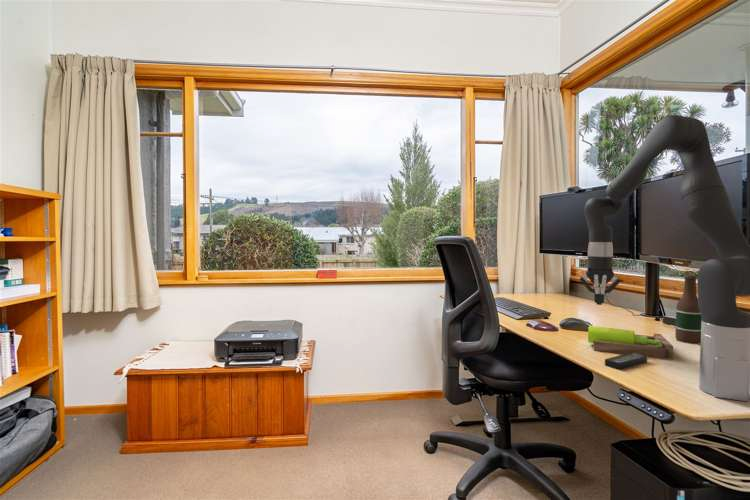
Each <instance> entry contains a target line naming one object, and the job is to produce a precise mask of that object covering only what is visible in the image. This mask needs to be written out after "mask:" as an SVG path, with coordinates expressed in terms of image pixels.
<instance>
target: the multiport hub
mask: <svg viewBox="0 0 750 500" xmlns="http://www.w3.org/2000/svg"><path fill="white" fill-rule="evenodd" d="M646 363H648V356H645V355H642V354H638V353H634V352H632V353H628V354H620V355H616V356H612V357H607V358H605V359H604V366H605V367H608V368H612V369H614V370H618V371H621V370H624V369H628V368H629V369H630V368H632V367H635V366H639V365H643V364H646Z"/></svg>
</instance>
